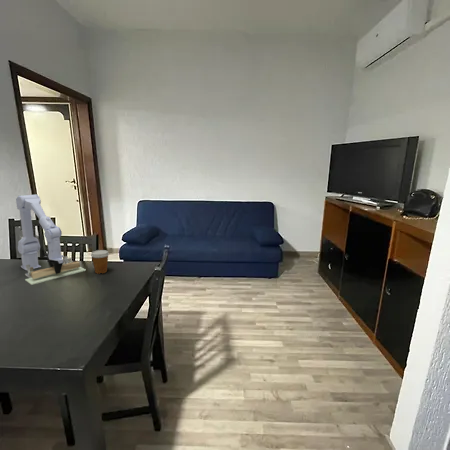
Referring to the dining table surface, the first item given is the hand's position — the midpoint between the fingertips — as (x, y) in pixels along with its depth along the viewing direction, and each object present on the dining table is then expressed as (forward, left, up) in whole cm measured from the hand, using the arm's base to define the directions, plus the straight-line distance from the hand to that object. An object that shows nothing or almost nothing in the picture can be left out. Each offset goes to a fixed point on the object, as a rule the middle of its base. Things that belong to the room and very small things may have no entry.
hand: (56, 272), depth 159 cm
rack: (-9, 0, -2) cm, 10 cm away
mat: (0, 0, -2) cm, 2 cm away
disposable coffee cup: (+13, +19, -2) cm, 23 cm away
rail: (0, 0, 0) cm, 0 cm away
